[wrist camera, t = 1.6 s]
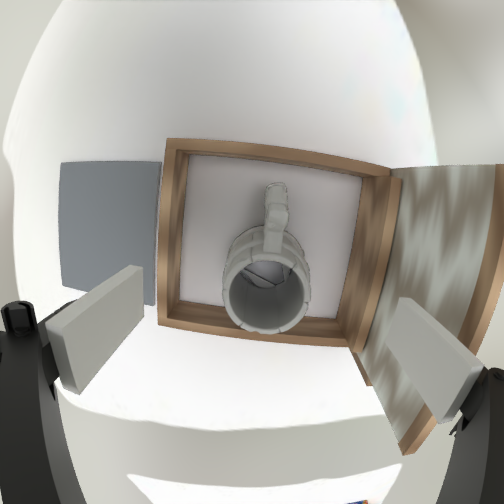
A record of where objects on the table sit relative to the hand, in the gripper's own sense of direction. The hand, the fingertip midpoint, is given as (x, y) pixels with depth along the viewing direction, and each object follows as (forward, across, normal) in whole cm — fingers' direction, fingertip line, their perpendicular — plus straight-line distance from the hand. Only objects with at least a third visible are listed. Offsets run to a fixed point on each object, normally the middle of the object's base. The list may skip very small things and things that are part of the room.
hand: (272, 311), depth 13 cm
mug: (+16, 0, 0) cm, 16 cm away
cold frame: (+16, 0, 0) cm, 16 cm away
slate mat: (+16, -19, -1) cm, 25 cm away
